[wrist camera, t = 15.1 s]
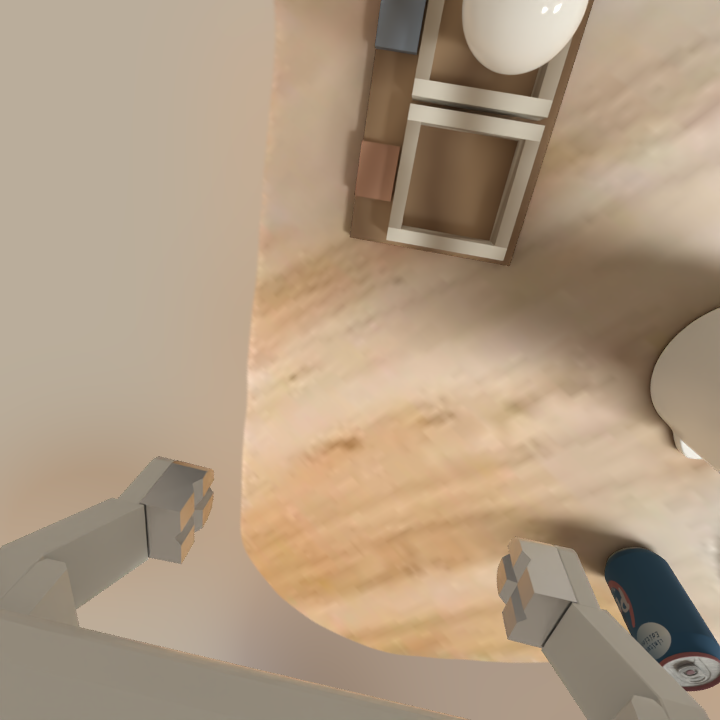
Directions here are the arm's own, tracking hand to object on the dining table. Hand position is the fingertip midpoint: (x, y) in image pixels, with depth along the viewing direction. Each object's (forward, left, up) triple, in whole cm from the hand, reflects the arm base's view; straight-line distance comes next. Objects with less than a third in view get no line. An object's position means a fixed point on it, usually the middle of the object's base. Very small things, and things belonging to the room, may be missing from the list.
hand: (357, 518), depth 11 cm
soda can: (-34, +30, -30) cm, 54 cm away
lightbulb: (-3, -18, -29) cm, 34 cm away
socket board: (-2, -13, -30) cm, 32 cm away
